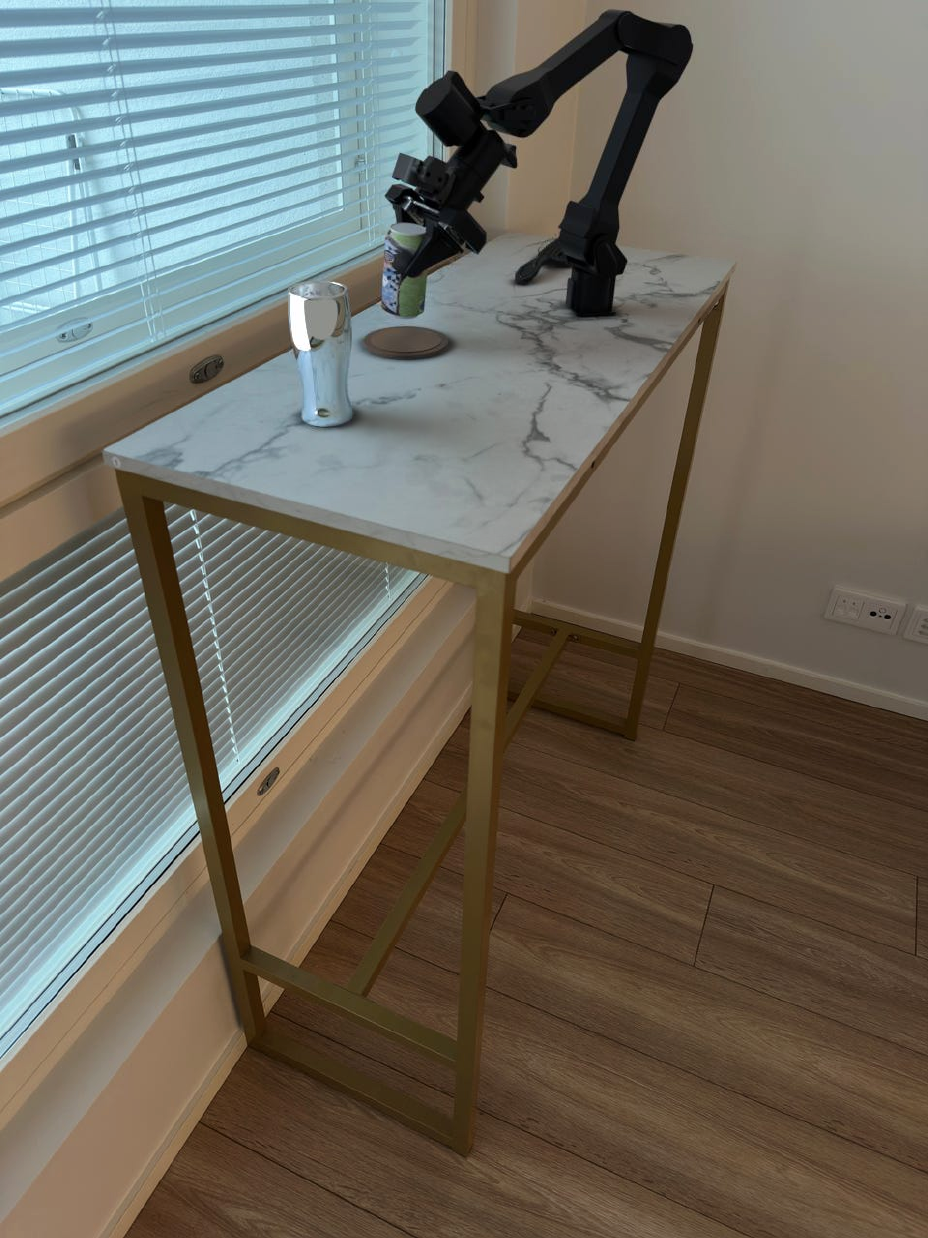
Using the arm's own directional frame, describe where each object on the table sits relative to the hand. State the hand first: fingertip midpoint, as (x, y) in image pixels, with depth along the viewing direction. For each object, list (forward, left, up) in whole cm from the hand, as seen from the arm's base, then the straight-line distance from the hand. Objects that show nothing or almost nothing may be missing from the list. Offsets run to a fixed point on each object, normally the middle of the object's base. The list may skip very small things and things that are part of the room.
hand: (396, 269), depth 122 cm
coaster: (-1, 0, -10) cm, 10 cm away
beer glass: (+12, +23, -11) cm, 28 cm away
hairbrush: (-32, -35, -11) cm, 49 cm away
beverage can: (-1, -1, -7) cm, 7 cm away
